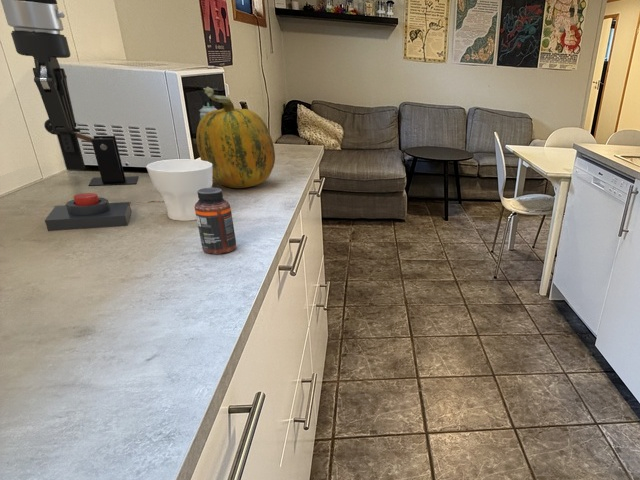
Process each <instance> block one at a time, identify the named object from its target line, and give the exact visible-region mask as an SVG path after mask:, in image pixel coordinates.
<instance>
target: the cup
mask: <svg viewBox="0 0 640 480" xmlns="http://www.w3.org/2000/svg"><path fill="white" fill-rule="evenodd" d="M145 168H146V170H147V173H148V175H149V179H150V181H151V184H152V186H153V188H154V189H156V191H158V193H159V194H160V195H161V197H162V200H163V202H164V204H165V207H166V209H167V210H166V213H167V217H168V218H169V219H170V220H173V221H179V222H191V221H197V218H196V213H195V207H194V206H195V204H196V202H198V200H199V198H198V192H197V191H198V190H200V189H203V188H213V178H212V163H210V162H208V161H203V160H201V159H193V158H175V159H174V158H173V159H163V160H157V161H152V162H150V163H147V165H146V167H145Z"/></svg>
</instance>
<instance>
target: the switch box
mask: <svg viewBox="0 0 640 480" xmlns="http://www.w3.org/2000/svg"><path fill="white" fill-rule="evenodd" d="M98 198H99V203H97V204H92V205H76V204H75V201H74V199H72V200H69V201H67V202H65V204H64V205H61V204H60V205H55V206H54V207H53V208H52V210H51V211H50V213H48V215H47V216H46V218H45V219H44V223H45V226H46V229H47V231H48V232H55V231H71V230H72V231H73V230H85V229H101V228H112V227H113V228H115V227H128V225H129V222H130V219H131V215H132V212H133V211H132V208H131V204H130V201H122V202H119V201H118V202H110V201H109V199H107V198H105V197H98Z"/></svg>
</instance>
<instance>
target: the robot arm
mask: <svg viewBox="0 0 640 480" xmlns="http://www.w3.org/2000/svg"><path fill="white" fill-rule="evenodd" d="M0 2H1V6H2V10H3V13H4V16H5V19H6V23H7V25H8V26H9V27H12V28H13V30H11V32H10V35H11V37H12V41H13V45H14V48H15V51H16V53H17V54H18V55H19V56H20V55H21V56H24V57H33V62H34V67H32V72H33V73H32V74H33V76H34V77H33V81H34V84H35V85H36V87H37V89H38V91H39V95H40V97H41V101H42V103H43V106H44V108H45V111H46V114H47V117H48V119H49V120H50V123H51V126H52V131H51V133H52V134H51V133H50V134H51V135H54V134H57V135H56V136H57V139H58V142H59V145H60V149H61V152H62V153H61V154H62V156H63V158H64V163H65V167H66V169H67V170H85V169H86V165H85V160H84V157H83V154H82V149H81V146H80V143H79V138H77V135H76V133H74V132H78V133H81V128H77V126H78V125H77V122H76V119H75V118H76V117H75V114H74V110H73V105H72V101H71V96H70V91H69V86H68V80H67V79H68V78H67V75H66V74H67V73H66V71H65V69H64V68H63V67H61V66H60V63H59V60H58V59H69V58H70V57H71V50H70V47H69V44H68V43H69V42H68V39H67V36H65V34H61V32H62V31H64V25H63V22H62V19H64V18H65V14H64V12H63V11H60V10H59V6H58V1H57V0H0Z"/></svg>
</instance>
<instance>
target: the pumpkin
mask: <svg viewBox="0 0 640 480" xmlns="http://www.w3.org/2000/svg"><path fill="white" fill-rule="evenodd" d="M202 89H203V90H204V94H205V95H207V97H208V98H209V99H210V100H211V101H214V102H217V103H220V104H221V103H222V105H223V108H220V109H217V110H214V111H211V112H209V113H207V114H206V115H204V116H203V118H202V119H201V120H200V119H199V122H198V125H197V128H196V134H195V135H196V137H195V138H196V139H195V141H196V147H197V152H198V155H199V158H200V160H203V161H208V162H210V163H212V180H213V181H215V182H216V183H218V184H219V185H221V186H223V187H226V188H233V189H245V188H251V187H254V186H258V185H261V184H262V183H264V182H265V181H267V179H269V177H270V176H271V173H272V171H273V169H274V166H275V164H276V163H275V161H276V152H275V151H276V150H275V145H274V142H273V139H272V136H271V132H270V130H269V127H268V125H267V124H266V122H265V121H264V119H263V118H262V117H261V116H260V115H259V114H257V113H256V112H255V111H253V110H250V109H247V108H236V107H235V106H234V103H233V102H232V100H231V99H230V98H229V97H228V96H226V95H217V94H214V92H215V91H214V89H213V88H211V87H209V86H206V87H203V88H202Z"/></svg>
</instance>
